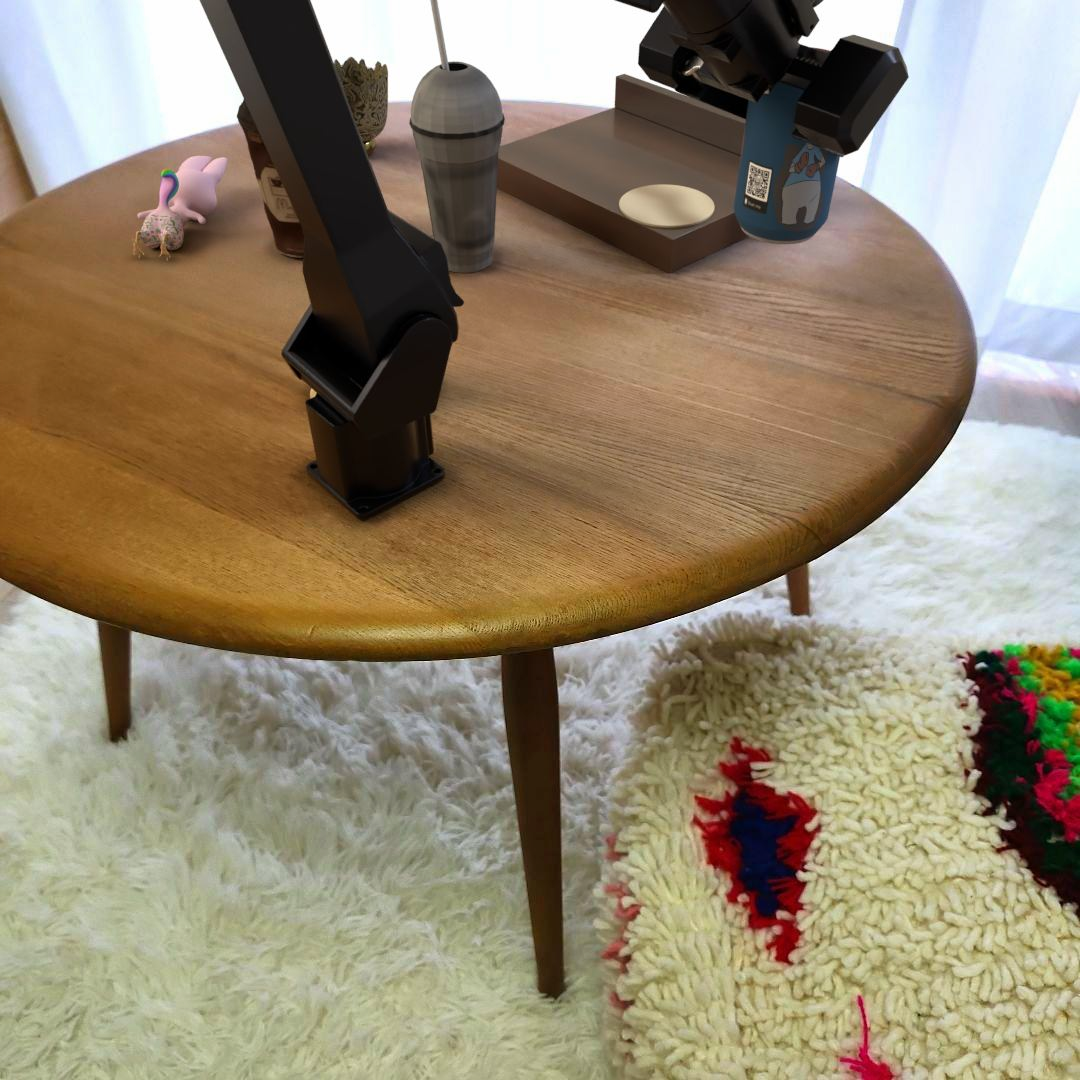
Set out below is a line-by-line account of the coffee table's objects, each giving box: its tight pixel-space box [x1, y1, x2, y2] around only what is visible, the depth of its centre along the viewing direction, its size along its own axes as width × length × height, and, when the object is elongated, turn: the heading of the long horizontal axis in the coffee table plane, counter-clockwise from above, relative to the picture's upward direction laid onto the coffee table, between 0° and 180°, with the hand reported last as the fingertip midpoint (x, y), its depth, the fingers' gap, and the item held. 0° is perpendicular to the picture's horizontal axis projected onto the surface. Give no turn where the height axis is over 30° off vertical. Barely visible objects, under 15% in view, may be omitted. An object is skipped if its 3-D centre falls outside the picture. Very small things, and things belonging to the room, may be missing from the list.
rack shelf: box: [497, 73, 750, 274], centre depth 93 cm, size 18×24×6 cm
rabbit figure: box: [131, 155, 228, 262], centre depth 89 cm, size 6×6×15 cm
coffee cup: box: [236, 99, 305, 259], centre depth 84 cm, size 9×8×13 cm
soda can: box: [734, 46, 841, 245], centre depth 73 cm, size 7×7×12 cm
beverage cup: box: [408, 0, 506, 274], centre depth 79 cm, size 7×7×20 cm
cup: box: [333, 56, 389, 157], centre depth 100 cm, size 8×7×8 cm
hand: (806, 135), depth 73 cm, fingers closed on soda can, 7 cm apart
